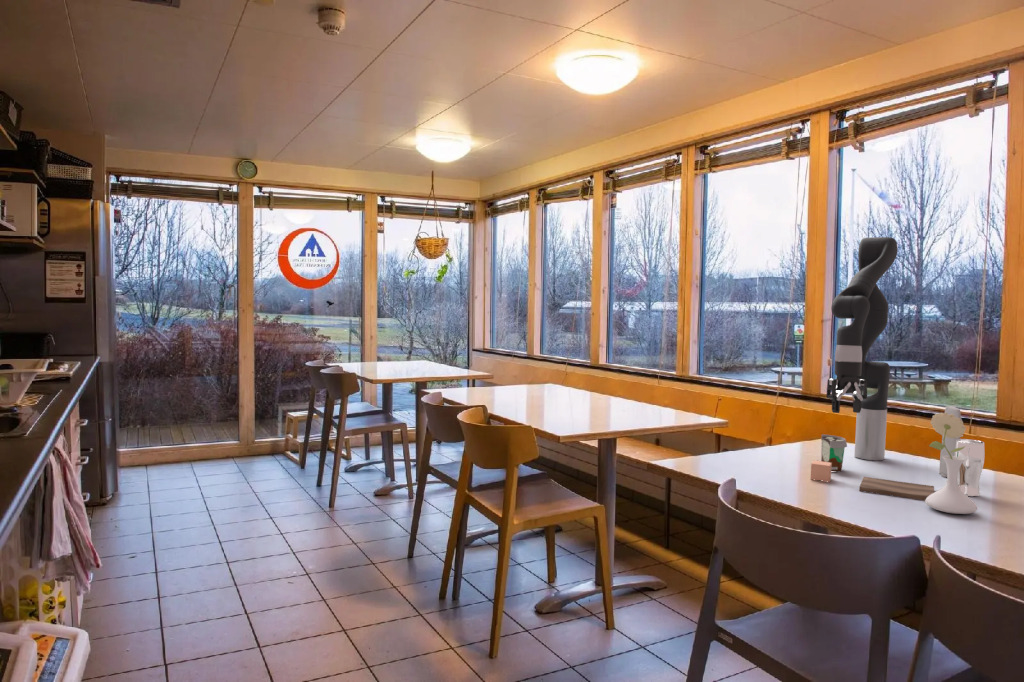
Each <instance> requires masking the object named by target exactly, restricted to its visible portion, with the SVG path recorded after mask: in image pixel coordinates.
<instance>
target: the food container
mask: <svg viewBox="0 0 1024 682" xmlns="http://www.w3.org/2000/svg"><path fill="white" fill-rule="evenodd" d="M820 440H821V450H820V451H821V455H820V457H821V458H820V461H822V462H830V463H832V467H831V471H840V472H842V471H843V470H842V469H843V464H844V463H843V462H844V455H845V448H847V447H848V444H847V440H846V438H844V437H842V436H838V435H833V434H832V435H831V434H824V433H823V434H821V439H820ZM841 470H842V471H841Z"/></svg>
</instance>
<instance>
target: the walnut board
mask: <svg viewBox="0 0 1024 682" xmlns="http://www.w3.org/2000/svg"><path fill="white" fill-rule="evenodd" d="M858 488H859V489H858V491H859V492H863V491H866V492H865V493H869V492H873V493H872V494H876V493H879V495H883V494H886V495H885V496H890V495H893V496H892V497H897V496H899V497H898V498H904V497H906V499H911V498H912V499H913V500H918V499H919V500H920V501H925V500H926V498H927V497H928V496H929V495H931V494H933V493H934V492H935V486H934V485H929V484H921V483H920V484H919V483H913V482H905V481H897V480H890V479H883V478H877V477H876V478H875V477H868V476H863V477H862V480H861V483H860V485H859V487H858Z"/></svg>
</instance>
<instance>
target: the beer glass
mask: <svg viewBox="0 0 1024 682" xmlns="http://www.w3.org/2000/svg"><path fill="white" fill-rule="evenodd" d="M964 446H965V447H964ZM960 447H964V448H963V449H962V450H960V451H957V452H955V457H961V458H964V459H965V461H964V462H963V463H962V464H961V466H960V468H959V472H958V487H959V489H960V490H961V491H962V492H963V493H964V494H965V495H967V496H979V497H981V491H980V479H981V476H982V473H983V468H984V464H985V455H986V454H985V442H984V441H982V440H977V439H967V438H960V439H957V441H956V447H955V449H956V448H960Z"/></svg>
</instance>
